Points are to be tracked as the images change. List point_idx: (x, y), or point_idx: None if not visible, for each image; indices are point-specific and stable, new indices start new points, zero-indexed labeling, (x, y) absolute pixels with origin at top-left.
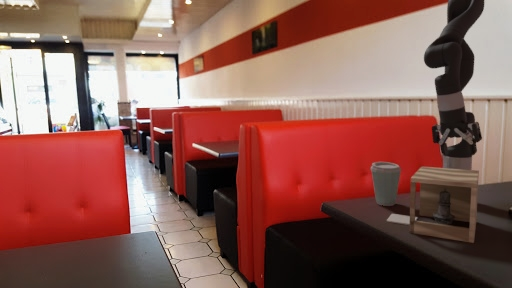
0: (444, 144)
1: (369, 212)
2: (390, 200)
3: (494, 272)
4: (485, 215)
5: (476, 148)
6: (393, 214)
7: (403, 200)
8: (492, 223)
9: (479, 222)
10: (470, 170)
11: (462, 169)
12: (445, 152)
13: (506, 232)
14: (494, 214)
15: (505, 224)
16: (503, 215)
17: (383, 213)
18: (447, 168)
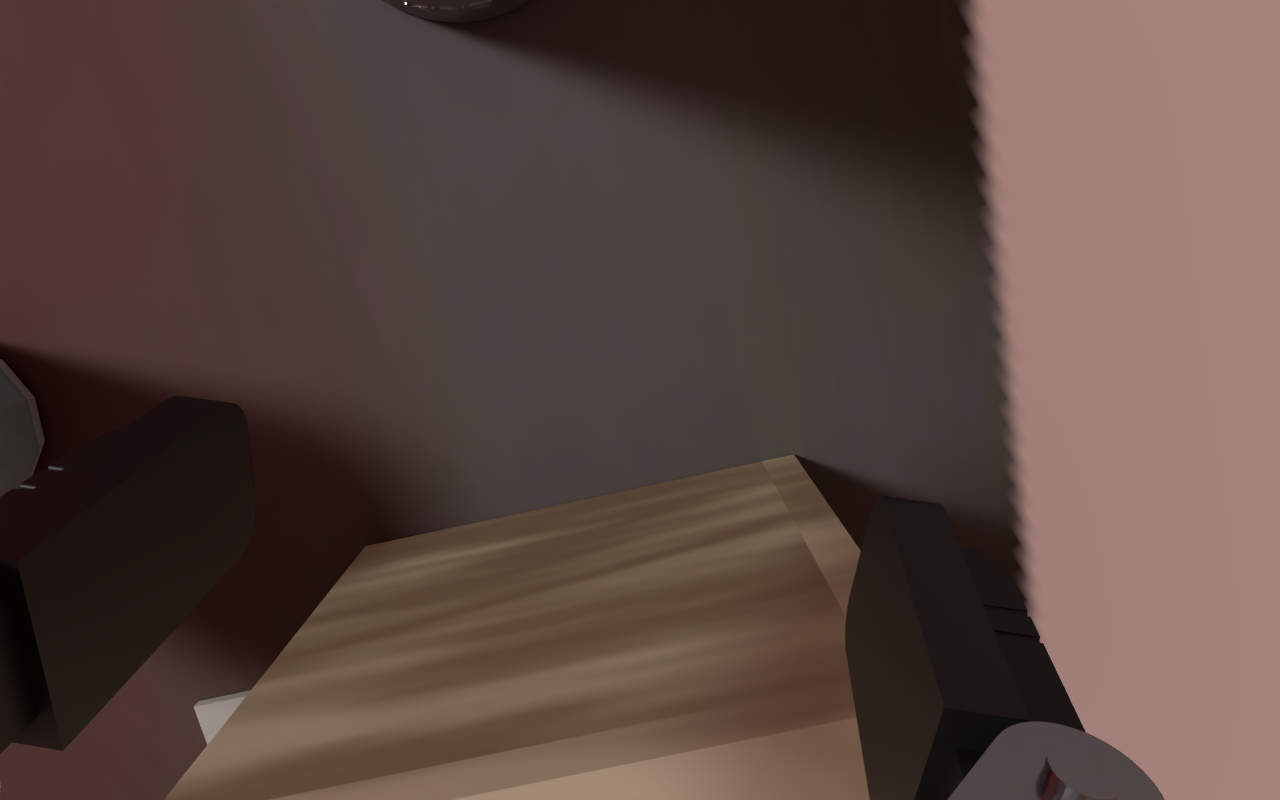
0: (48, 697)
1: (29, 756)
2: None
3: None
4: (816, 204)
5: (1031, 644)
6: (217, 723)
7: (10, 182)
8: (905, 410)
9: (817, 450)
10: (850, 758)
11: (725, 745)
12: (215, 556)
13: (1021, 566)
14: (877, 112)
15: (994, 370)
16: (949, 92)
17: (128, 710)
18: (506, 796)
